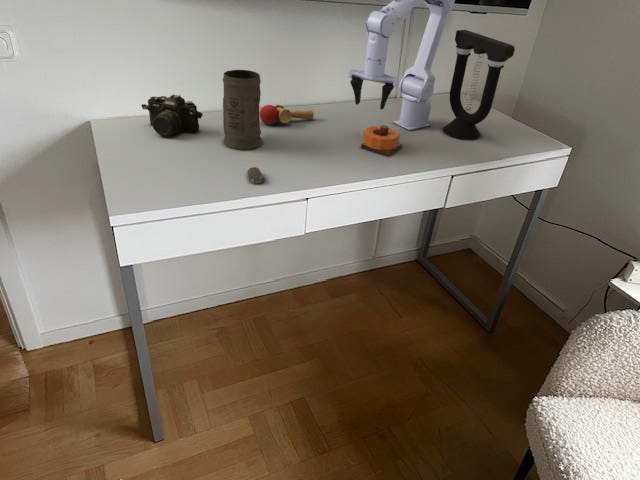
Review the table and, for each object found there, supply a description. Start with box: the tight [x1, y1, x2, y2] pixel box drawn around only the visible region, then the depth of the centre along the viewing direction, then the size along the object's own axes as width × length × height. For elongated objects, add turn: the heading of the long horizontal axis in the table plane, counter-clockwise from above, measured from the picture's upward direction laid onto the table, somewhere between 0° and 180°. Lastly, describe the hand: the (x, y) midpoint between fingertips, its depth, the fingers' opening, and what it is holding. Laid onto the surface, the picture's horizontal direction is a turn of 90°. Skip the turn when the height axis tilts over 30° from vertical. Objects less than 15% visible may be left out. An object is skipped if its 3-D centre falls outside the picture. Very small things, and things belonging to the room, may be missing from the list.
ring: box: [362, 125, 400, 150], centre depth 146 cm, size 10×10×3 cm
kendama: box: [259, 104, 314, 126], centre depth 158 cm, size 8×6×18 cm
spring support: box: [442, 29, 516, 141], centre depth 154 cm, size 21×12×30 cm, turn 29°
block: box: [246, 166, 265, 185], centre depth 124 cm, size 4×6×2 cm, turn 21°
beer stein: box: [222, 69, 262, 151], centre depth 139 cm, size 15×11×20 cm
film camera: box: [140, 93, 203, 138], centre depth 143 cm, size 18×12×10 cm
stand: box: [360, 124, 403, 157], centre depth 146 cm, size 9×9×6 cm
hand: (369, 105), depth 147 cm, fingers open, 7 cm apart
